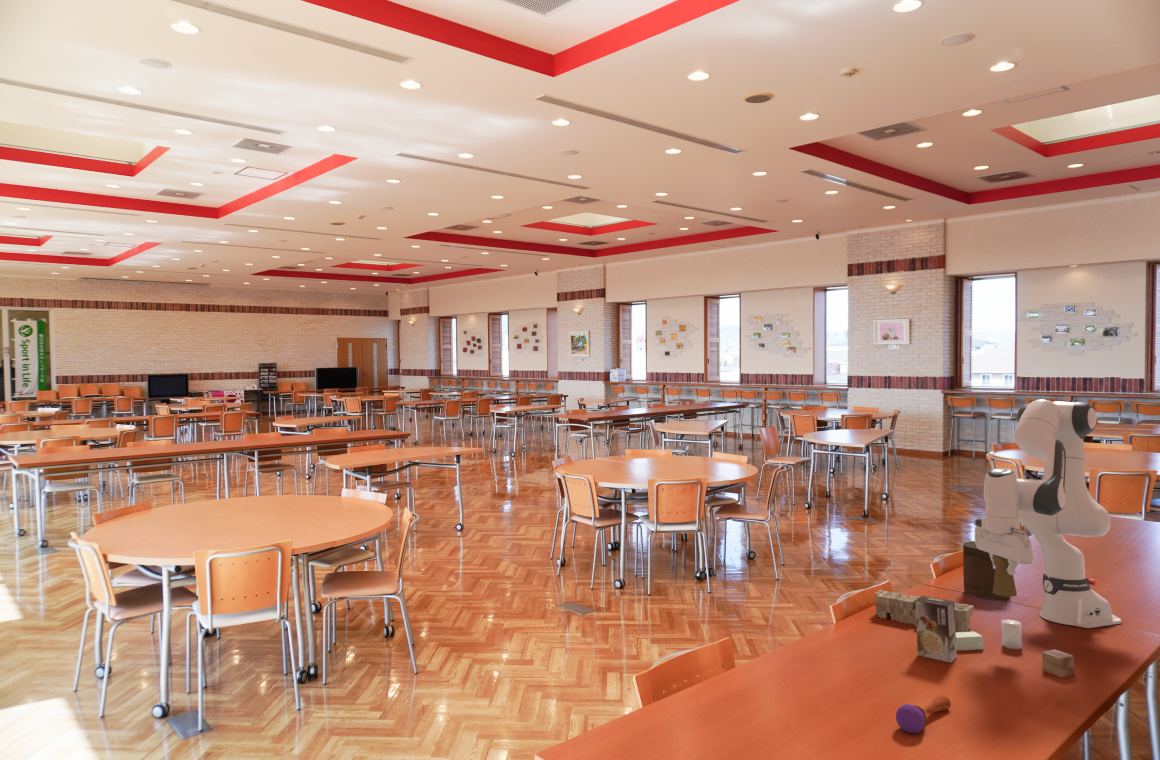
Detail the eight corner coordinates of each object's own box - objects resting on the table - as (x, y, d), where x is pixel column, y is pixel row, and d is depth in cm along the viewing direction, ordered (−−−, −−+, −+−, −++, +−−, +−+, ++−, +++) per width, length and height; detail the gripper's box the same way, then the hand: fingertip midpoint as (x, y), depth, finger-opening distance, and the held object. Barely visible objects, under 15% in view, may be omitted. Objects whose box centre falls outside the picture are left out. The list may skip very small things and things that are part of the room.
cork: (1020, 596, 198) (1019, 558, 198) (998, 596, 199) (996, 558, 199) (1010, 590, 204) (1009, 553, 204) (989, 590, 205) (987, 553, 205)
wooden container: (992, 587, 262) (990, 530, 263) (1020, 599, 248) (1017, 538, 248) (955, 589, 262) (953, 531, 262) (980, 601, 247) (978, 540, 247)
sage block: (974, 644, 207) (974, 631, 207) (983, 649, 203) (982, 636, 203) (949, 646, 206) (948, 632, 206) (957, 651, 202) (957, 637, 202)
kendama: (958, 696, 165) (919, 716, 152) (953, 720, 165) (914, 741, 153) (933, 684, 169) (893, 702, 157) (929, 706, 170) (888, 726, 157)
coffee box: (957, 656, 198) (956, 601, 198) (950, 663, 193) (948, 606, 193) (924, 649, 204) (922, 594, 204) (916, 655, 200) (914, 599, 200)
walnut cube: (1055, 667, 189) (1055, 649, 189) (1074, 674, 184) (1073, 655, 184) (1042, 670, 187) (1042, 652, 187) (1061, 677, 182) (1060, 658, 183)
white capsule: (1014, 642, 207) (1013, 619, 207) (1026, 648, 202) (1025, 624, 202) (998, 643, 207) (997, 620, 207) (1010, 649, 202) (1009, 625, 202)
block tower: (873, 620, 233) (968, 636, 213) (871, 595, 234) (966, 609, 214) (881, 614, 239) (975, 629, 219) (880, 589, 239) (973, 603, 219)
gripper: (1038, 531, 192) (1040, 581, 192) (989, 517, 212) (991, 562, 212) (1017, 532, 191) (1019, 582, 191) (969, 518, 212) (971, 563, 212)
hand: (1003, 571), depth 202 cm, fingers closed on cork, 4 cm apart
